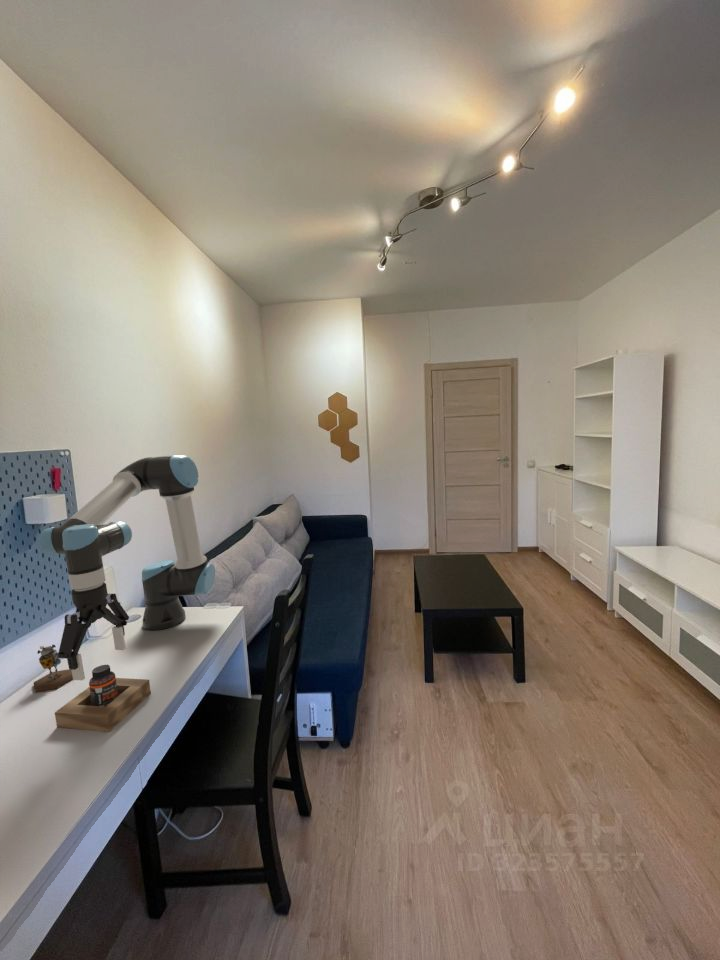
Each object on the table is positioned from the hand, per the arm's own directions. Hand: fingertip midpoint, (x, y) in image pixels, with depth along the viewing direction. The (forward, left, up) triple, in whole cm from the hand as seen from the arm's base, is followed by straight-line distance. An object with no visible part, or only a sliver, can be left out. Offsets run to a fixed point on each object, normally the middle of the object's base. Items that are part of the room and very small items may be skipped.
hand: (101, 663), depth 108 cm
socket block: (0, 0, -13) cm, 13 cm away
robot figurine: (-10, -27, -13) cm, 31 cm away
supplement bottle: (0, 0, -13) cm, 13 cm away
